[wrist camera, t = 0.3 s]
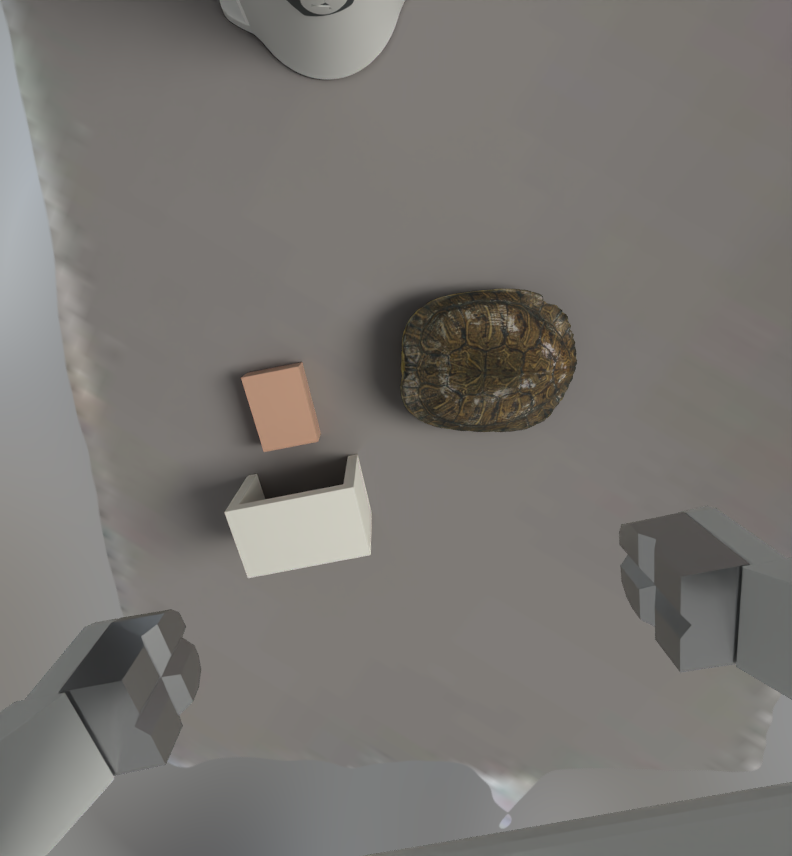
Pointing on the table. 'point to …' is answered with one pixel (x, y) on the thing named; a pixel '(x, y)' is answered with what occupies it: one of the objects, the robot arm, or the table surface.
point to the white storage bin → (301, 524)
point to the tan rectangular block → (282, 406)
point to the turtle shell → (486, 360)
